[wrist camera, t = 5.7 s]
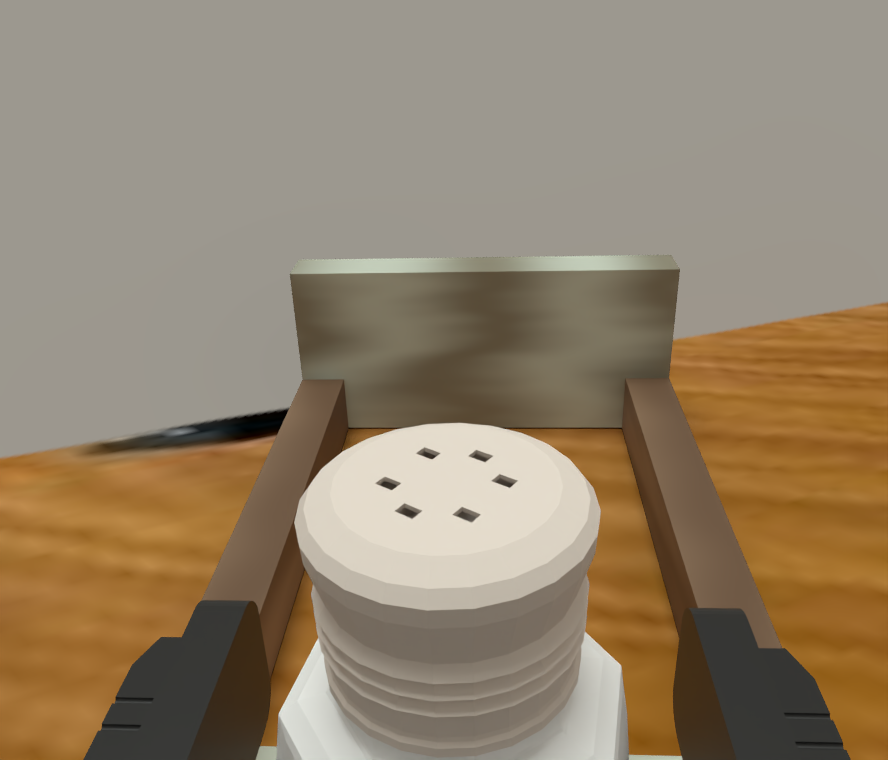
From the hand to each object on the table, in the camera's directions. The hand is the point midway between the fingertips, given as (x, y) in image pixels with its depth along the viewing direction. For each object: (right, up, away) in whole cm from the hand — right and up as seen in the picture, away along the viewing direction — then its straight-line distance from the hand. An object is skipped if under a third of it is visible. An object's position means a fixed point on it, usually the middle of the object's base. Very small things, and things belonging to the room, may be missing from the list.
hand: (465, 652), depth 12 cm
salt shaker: (0, -7, +1) cm, 7 cm away
